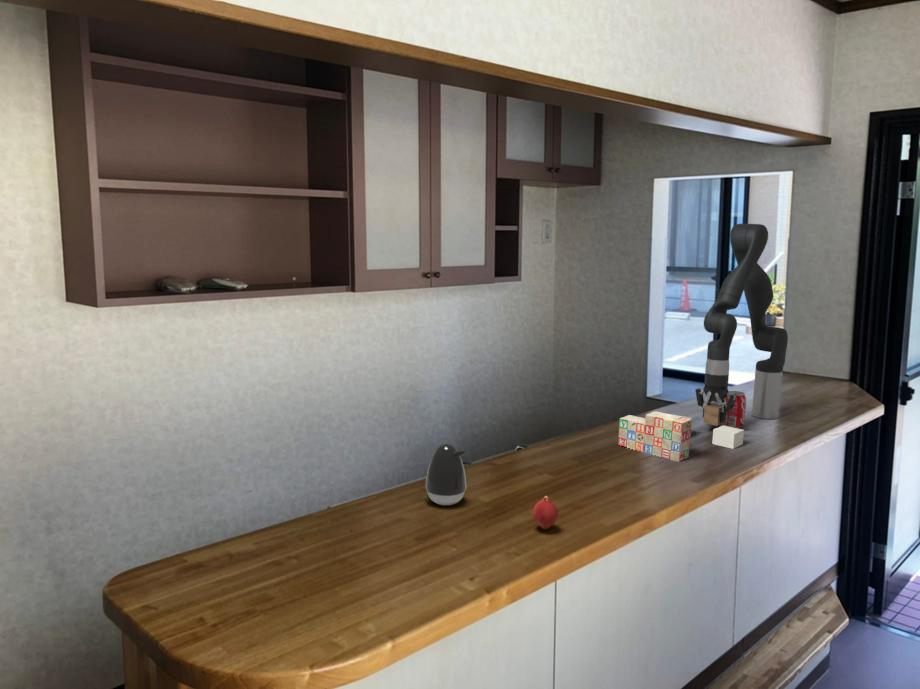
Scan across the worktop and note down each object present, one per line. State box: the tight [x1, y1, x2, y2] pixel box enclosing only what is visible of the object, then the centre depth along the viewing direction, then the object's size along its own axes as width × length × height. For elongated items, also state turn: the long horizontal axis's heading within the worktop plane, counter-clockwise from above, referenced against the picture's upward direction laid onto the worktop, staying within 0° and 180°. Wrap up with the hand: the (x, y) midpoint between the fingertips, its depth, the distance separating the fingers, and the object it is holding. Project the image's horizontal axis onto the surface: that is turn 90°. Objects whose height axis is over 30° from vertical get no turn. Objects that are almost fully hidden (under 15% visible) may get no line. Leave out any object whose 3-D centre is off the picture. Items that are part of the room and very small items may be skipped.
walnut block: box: [703, 402, 724, 427], centre depth 257 cm, size 5×5×6 cm
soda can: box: [723, 390, 747, 429], centre depth 263 cm, size 7×7×12 cm
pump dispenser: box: [425, 442, 467, 506], centre depth 189 cm, size 10×10×15 cm
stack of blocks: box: [617, 410, 693, 463], centre depth 233 cm, size 21×6×12 cm, turn 46°
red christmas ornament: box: [532, 495, 559, 530], centre depth 174 cm, size 6×6×8 cm
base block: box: [712, 424, 745, 450], centre depth 243 cm, size 7×7×5 cm
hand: (713, 420), depth 257 cm, fingers closed on walnut block, 5 cm apart
